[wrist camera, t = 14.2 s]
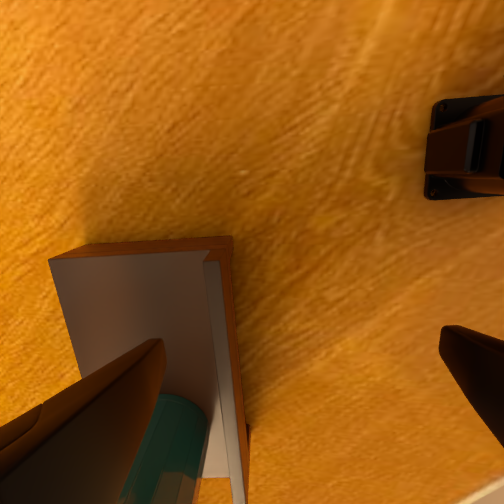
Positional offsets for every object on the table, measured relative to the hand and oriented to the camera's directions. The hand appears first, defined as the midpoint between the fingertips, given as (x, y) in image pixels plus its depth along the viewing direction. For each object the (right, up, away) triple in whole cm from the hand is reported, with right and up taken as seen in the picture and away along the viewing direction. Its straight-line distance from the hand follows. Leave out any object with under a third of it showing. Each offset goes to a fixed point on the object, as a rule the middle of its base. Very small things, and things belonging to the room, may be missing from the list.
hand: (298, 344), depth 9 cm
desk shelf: (-8, -6, +15) cm, 18 cm away
